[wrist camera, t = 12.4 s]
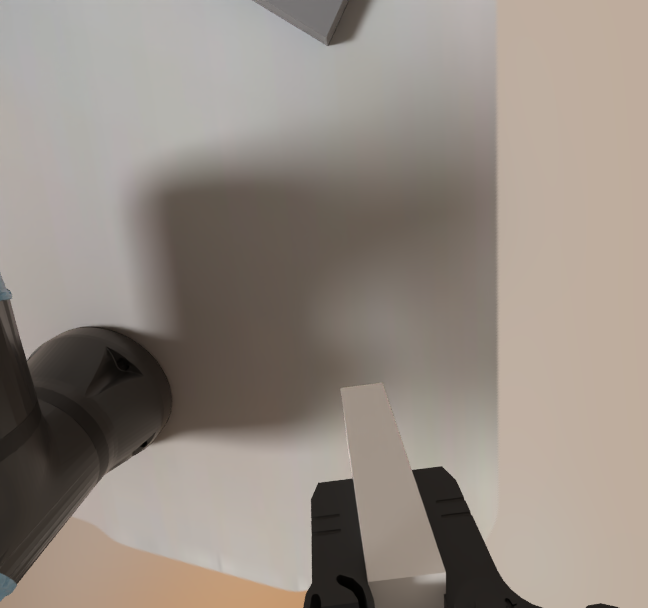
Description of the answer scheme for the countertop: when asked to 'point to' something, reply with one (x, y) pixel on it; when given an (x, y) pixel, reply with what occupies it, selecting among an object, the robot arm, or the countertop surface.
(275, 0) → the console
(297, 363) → the countertop surface
